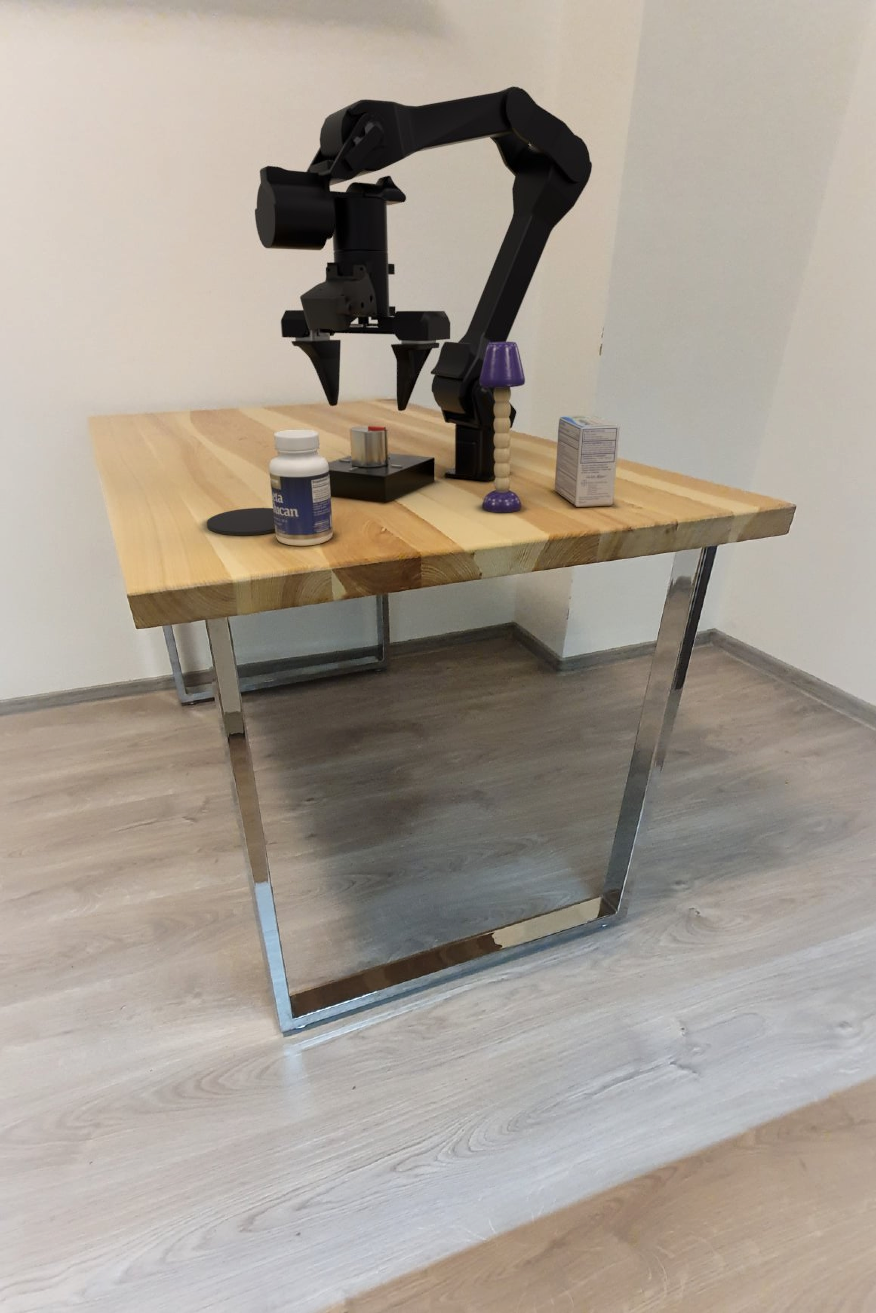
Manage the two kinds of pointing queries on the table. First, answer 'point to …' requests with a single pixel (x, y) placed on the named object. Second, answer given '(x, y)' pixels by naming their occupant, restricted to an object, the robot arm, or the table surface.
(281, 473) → the pill bottle
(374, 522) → the table surface
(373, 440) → the dial
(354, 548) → the table surface
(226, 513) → the coaster
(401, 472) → the panel
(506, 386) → the toy lamp
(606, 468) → the medicine box
